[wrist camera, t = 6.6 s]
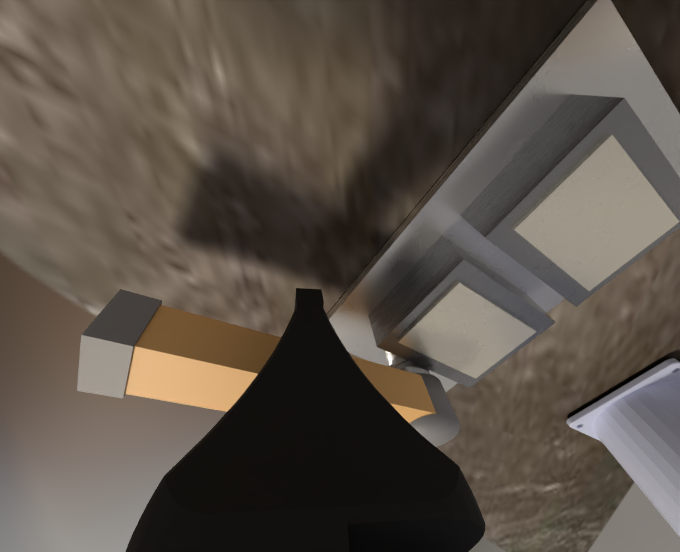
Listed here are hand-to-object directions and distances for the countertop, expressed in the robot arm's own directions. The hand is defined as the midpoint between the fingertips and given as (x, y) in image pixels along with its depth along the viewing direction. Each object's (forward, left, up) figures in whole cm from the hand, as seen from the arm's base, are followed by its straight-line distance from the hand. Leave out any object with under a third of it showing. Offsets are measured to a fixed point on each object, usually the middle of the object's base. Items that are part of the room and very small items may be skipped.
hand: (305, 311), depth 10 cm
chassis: (-7, -5, -3) cm, 9 cm away
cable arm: (-1, +2, 0) cm, 3 cm away
